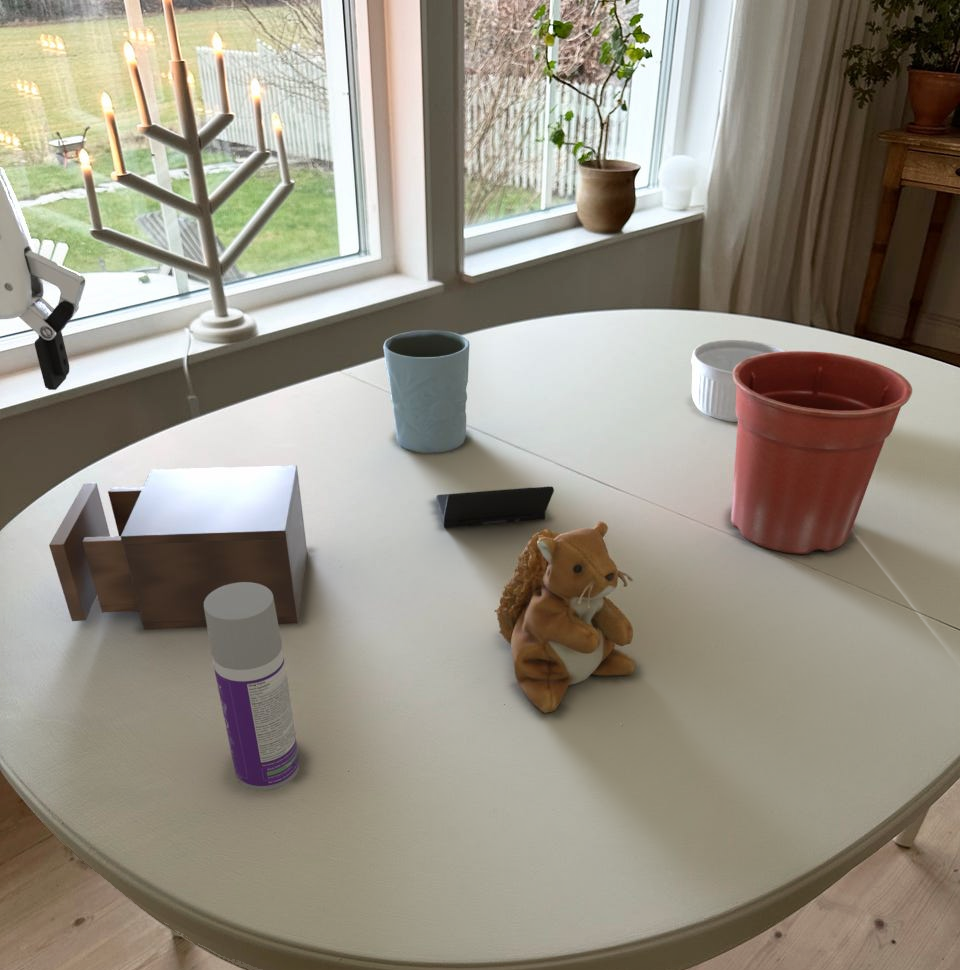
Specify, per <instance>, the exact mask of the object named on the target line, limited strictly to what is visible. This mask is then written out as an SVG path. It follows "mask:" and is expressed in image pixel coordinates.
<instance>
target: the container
mask: <svg viewBox="0 0 960 970" xmlns="http://www.w3.org/2000/svg"><path fill="white" fill-rule="evenodd" d="M204 611H205V617H206V623H207V627H206V628H207V634H208V641H209V645H210V651H211V657H212V663H213V669H214V670H213V671H214V675H215V679H216V685H217V689H218V694H219V699H220V704H221V709H222V714H223V719H224V724H225V728H226V733H227V734H226V735H227V739H228V744H229V748H230V753H231V754H230V755H231V758H232V763H233V768H234V772H235V777H236V779H237V781H238V782H239V783H240V785H242V786H243V787H245V788H247V789H249V790H253V791H260V792H261V791H262V792H263V791H271V790H275V789H279V788H281V787H284V786H286V785H287V784H289V783H290V782H291V781H293V779H294V778H296V776H297V774H298V773H299V770H300V756H299V752H298V749H299V748H298V744H297V743H298V742H297V737H296V736H297V735H296V729H295V723H294V715H293V709H292V701H291V695H290V688H289V681H288V675H287V668H286V667H287V666H286V660H285V654H284V650H283V649H284V648H283V644H282V638H281V632H280V627H279V624H278V620H277V615H276V609H275V604H274V598H273V594H272V592H271V591H270V590H269V589H268V588H267V587H265V586H263V585H260V584H257V583H251V582H240V583H232V584H228V585H225V586H222V587H220V588H218V589H216V590H214V591H213V592H211V593H210V594H209V595H208V596H207V597H206V599H205V601H204Z"/></svg>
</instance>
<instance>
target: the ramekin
mask: <svg viewBox="0 0 960 970" xmlns="http://www.w3.org/2000/svg"><path fill="white" fill-rule="evenodd" d="M783 351H787V350H785V349H784V348H781V347H779V346H775V345H772V344H769V343H764V342H759V341H755V340H754V341H753V340H747V339H721V340H720V339H718V340H712V341H708V342H705V343H701V344H699V345H698V346H696V348H694V350H693V352H692V356H691V365H692V377H691V397H692V401H693V402H694V404H695V406H696V407H697V409H698V410H699V411H700V412H701V413H703V414H705V415H706V416H709V417H711V418H714V419H716V420H720V421H725V422H731V423H738V418H737V416H736V412H735V409H736V393H737V386H736V385H735V383H734V380H733V370H734V368H735V367H736V365H737V364H739V363H740V362H741V361H743V360H745V359H747V358H750V357H753V356H757V355H761V354H767V353H773V352H783Z"/></svg>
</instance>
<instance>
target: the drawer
mask: <svg viewBox="0 0 960 970" xmlns="http://www.w3.org/2000/svg"><path fill="white" fill-rule="evenodd" d="M142 488H143V486H134V487H110V488H109V489H108V491H107V494H108V498H109V502H110V505H111V509H112V513H113V517H114V521H115V525H116V529H117V533H118V535H111V533H110V529H109V526H108V521H107V518H106V514H105V511H104V506H103V502H102V498H101V494H100V491H99V487H98V483H96V482H92V483H83V484H82V486H81V488H80V490H79V491H78V493H77V495H76V496H75V498H74V500H73V502H72V504H71V506H70V507H69V509H68V510H67V512H66V515H65V516H64V518H63V520H62V522H61V523H60V525H59V527H58V528H57V530H56V532H55V534H54V535H53V537H52V539H51V541H50V543H49V544H48V547H49V550H50V553H51V557H52V559H53V563H54V566H55V570H56V572H57V577H58V579H59V583H60V586H61V590H62V593H63V596H64V599H65V602H66V606H67V609H68V612H69V616H70V620H71V622H84V621H86V620H87V618H88V616H89V615H90V612H91V610H92V607H93V605H94V603H95V600H96V599H97V600H98V604H99V607H100V611H101V613H128V612H129V613H131V612H139V608H138V604H137V600H136V596H135V592H134V588H133V584H132V580H131V576H130V572H129V568H128V564H127V560H126V556H125V552H124V548H123V544H122V540H121V535H122V532H123V530H124V528H125V526H126V524H127V521H128V519H129V517H130V515H131V513H132V510H133V508H134V506H135V504H136V502H137V499H138V497H139V495H140V493H141V491H142Z"/></svg>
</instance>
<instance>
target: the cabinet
mask: <svg viewBox="0 0 960 970" xmlns="http://www.w3.org/2000/svg"><path fill="white" fill-rule="evenodd" d="M298 472H299V471H298V465H297V464H295V465H294V464H293V465H266V466H265V465H264V466H263V465H261V466H233V467H232V466H230V467H197V468H170V469H169V468H168V469H166V468H165V469H150V471H149V473H148V475H147V477H146V479H145V481H144V484H143V486H142V487H143V488H142V491H141V493H140V495H139V497H138V499H137V502H136V504H135V506H134V508H133V510H132V513H131V515H130V517H129V519H128V521H127V524H126V526H125V528H124V530H123V532H122V535H121V540H122V544H123V548H124V552H125V556H126V560H127V564H128V568H129V572H130V576H131V580H132V584H133V588H134V592H135V596H136V600H137V604H138V608H139V611H138V612H139V616H140V620H141V624H142V628H143V630H144V631H151V630H173V629H174V630H175V629H197V628H198V629H199V628H207V623H206V617H205V611H204V601H205V599H206V597H207V596H208V595H209V594H210V593H211V592H213V591H214V590H216V589H218V588H220V587H222V586H225V585H228V584H232V583H240V582H251V583H257V584H260V585H263V586H265V587H267V588H268V589H269V590H270V591H271V592H272V594H273V598H274V604H275V609H276V615H277V620H278V625H291V624H292V625H293V624H294V625H295V624H296V625H297V624H299V618H300V610H301V604H302V603H301V602H302V595H303V589H304V588H303V586H304V581H305V580H304V579H305V572H306V565H307V557H308V547H307V537H306V531H305V521H304V511H303V503H302V495H301V487H300V480H299V478H300V477H299V473H298Z"/></svg>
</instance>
